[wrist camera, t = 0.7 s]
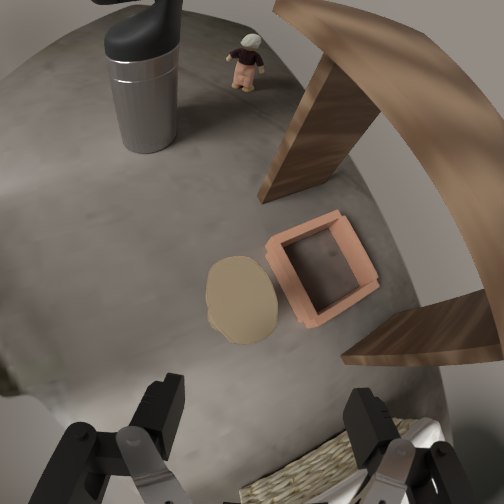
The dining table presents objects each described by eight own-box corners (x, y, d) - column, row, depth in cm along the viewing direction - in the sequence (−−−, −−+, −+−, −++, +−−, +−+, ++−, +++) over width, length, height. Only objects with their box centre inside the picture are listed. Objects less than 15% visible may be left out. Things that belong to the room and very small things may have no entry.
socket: (260, 247, 37) (267, 238, 34) (330, 218, 41) (340, 208, 38) (303, 330, 35) (314, 329, 32) (368, 289, 39) (382, 284, 36)
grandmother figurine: (260, 86, 49) (276, 36, 37) (256, 96, 47) (273, 44, 36) (224, 76, 48) (234, 26, 36) (218, 86, 47) (228, 33, 35)
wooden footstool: (219, 209, 38) (278, -7, 11) (319, 175, 44) (423, 33, 16) (309, 387, 32) (533, 422, 5) (399, 321, 38) (570, 269, 11)
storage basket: (271, 545, 22) (304, 599, 9) (221, 485, 26) (240, 550, 12) (396, 467, 30) (458, 489, 16) (369, 401, 33) (443, 413, 20)
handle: (231, 288, 35) (259, 249, 21) (248, 337, 33) (288, 330, 19) (194, 299, 33) (196, 265, 19) (210, 348, 32) (224, 353, 18)
